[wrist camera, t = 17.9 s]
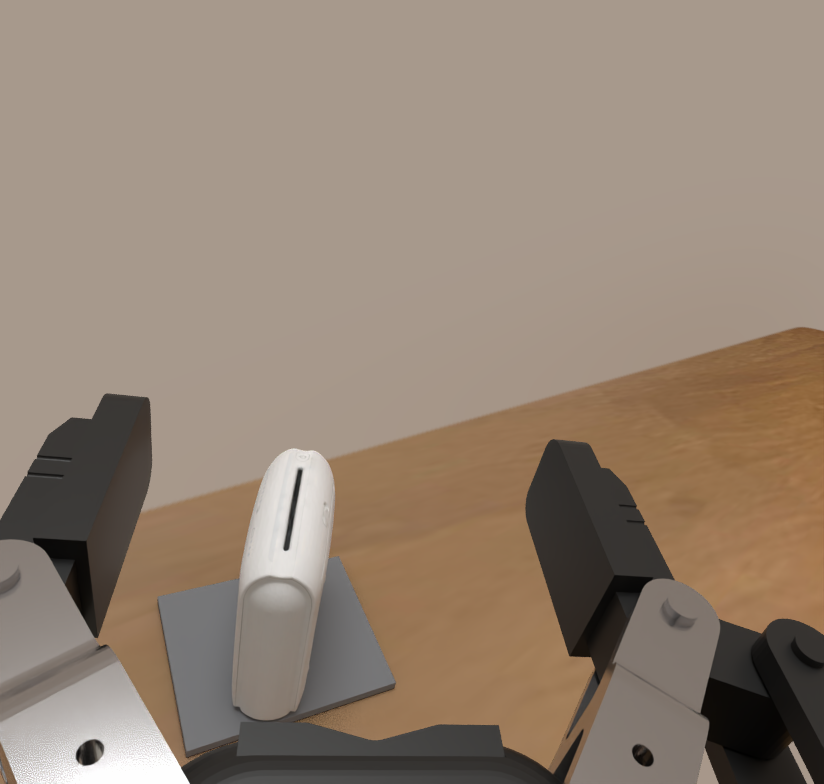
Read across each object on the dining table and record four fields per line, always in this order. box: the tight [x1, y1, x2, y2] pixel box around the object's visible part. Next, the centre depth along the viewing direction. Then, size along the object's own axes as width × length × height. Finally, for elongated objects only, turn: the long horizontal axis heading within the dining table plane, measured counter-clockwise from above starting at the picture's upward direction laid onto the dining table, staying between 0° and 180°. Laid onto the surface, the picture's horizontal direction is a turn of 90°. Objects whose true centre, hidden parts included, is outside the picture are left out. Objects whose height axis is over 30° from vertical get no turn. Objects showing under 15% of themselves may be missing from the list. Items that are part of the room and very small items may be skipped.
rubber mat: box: [158, 556, 396, 757], centre depth 40 cm, size 12×10×1 cm
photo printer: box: [232, 448, 335, 720], centre depth 37 cm, size 10×4×12 cm, turn 1°
